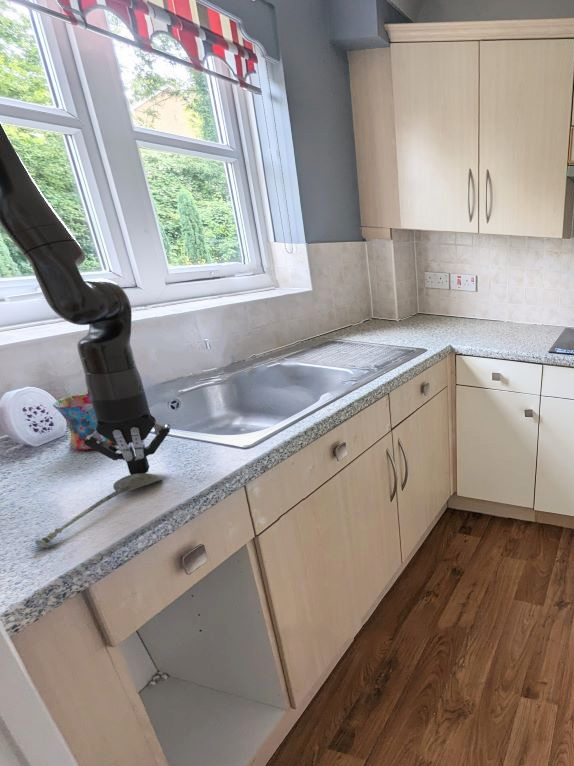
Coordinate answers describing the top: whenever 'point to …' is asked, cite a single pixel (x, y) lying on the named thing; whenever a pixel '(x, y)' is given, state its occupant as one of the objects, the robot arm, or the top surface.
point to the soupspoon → (106, 499)
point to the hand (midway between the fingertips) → (140, 474)
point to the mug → (78, 418)
